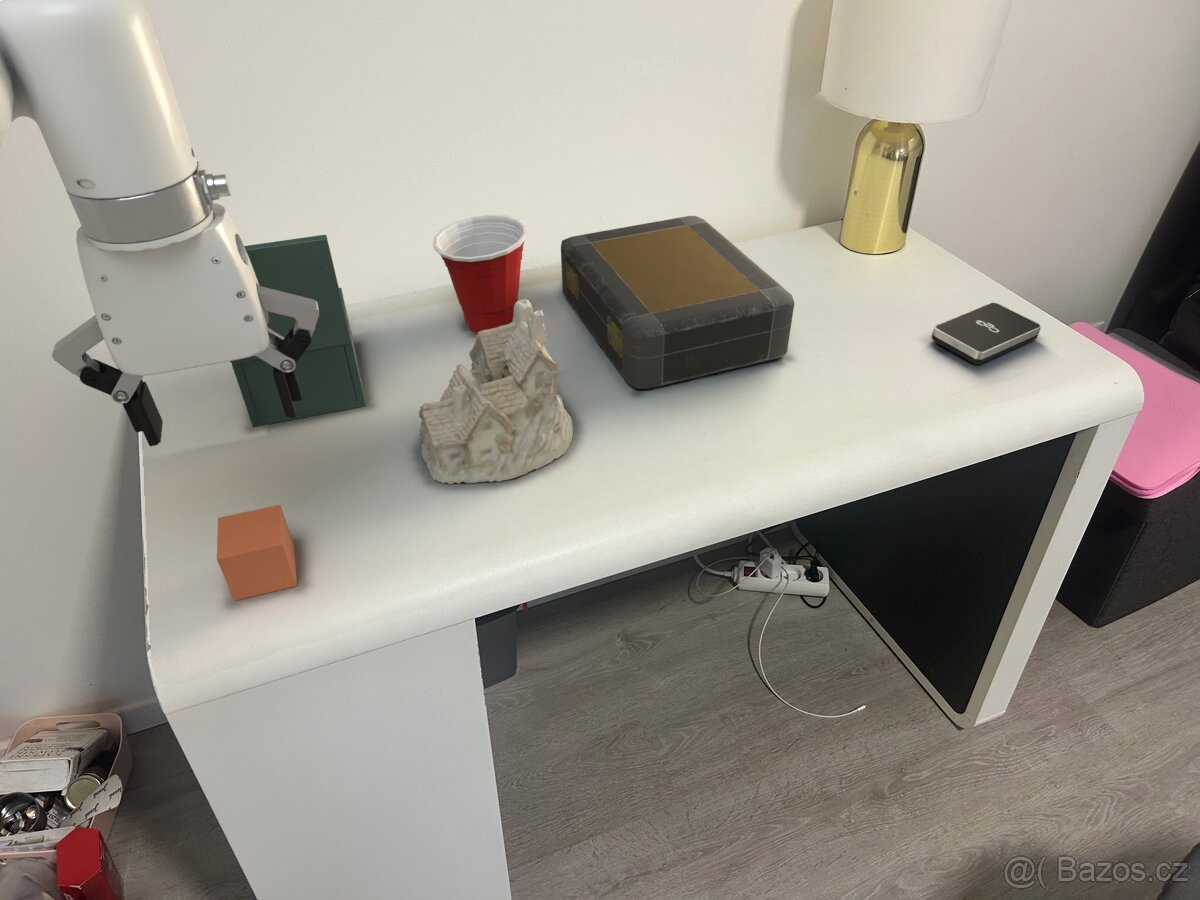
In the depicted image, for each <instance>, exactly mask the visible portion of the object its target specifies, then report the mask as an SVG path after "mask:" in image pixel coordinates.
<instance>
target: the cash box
mask: <svg viewBox="0 0 1200 900" xmlns="http://www.w3.org/2000/svg"><path fill="white" fill-rule="evenodd" d="M560 243H561V244H560V263H561V289H562V295H563V296H564V298H565V299H566V300H567V302H568V303H569V304H570V306H571V307H572V309H573V310H574V311H575V313H576V314H577V315H578V317H579V318H580V319H581V321H582V322H583V323H584V325H585V326H586V328H587V329H588V331H589V333H591V335H592V336H593V338H595V340H596V341H597V343H598V344H599V346H600V347H601V349H602V350H603V351H604V353H605V354H606V355H607V356H608V358H609V359H610V361H611V362H612V363H613V364H614V366H615V368H616V369H617V370H618V372H619V373H620V374H621V376H622V378H624V380H625V381H626V383H627V384H629V385H630V386H631V387H632V388H634V389H637V390H648V389H653V388H657V387H661V386H666V385H670V384H675V383H678V382H682V381H688V380H691V379H695V378H696V379H697V378H699V377H704V376H705V377H706V376H708V375H713V374H717V373H721V372H725V371H730V370H734V369H738V368H742V367H747V366H751V365H754V364H755V365H756V364H759V363H765V362H768V361H772V360H776V359H780V358H782V357H783V356H785V355H786V354H787V353H788V348H789V341H790V335H791V329H792V324H793V323H792V321H793V316H794V310H795V300H794V296H793V294H791V293H790V292H789V291H788V290H787V289H785V288H784V286H782V285H781V284H780V283H778V282H777V281H776V280H775V279H774V278H773V277H772V276H771V275H769V273H767V272H766V271H765V270H764V269H762V268H761V266H759V265H758V264H757V263H756V262H754V261H753V260H752V259H751V258H750V257H748V256H747V255H746V254H745V253H744V252H743V251H742V250H741V249H739V248H738V247H737V246H735V245H734V244H733V242H731V241H730V240H729V239H727V238H726V237H725V236H724V235H723V234H722V233H720V231H718V230H717V229H716V228H715V227H713V225H712V224H711V223H709V222H708V221H706V220H705V218H702V217H699V216H697V215H687V216H681V217H676V218H669V219H664V220H658V221H652V222H646V223H641V224H636V225H635V224H634V225H629V226H623V227H618V228H612V229H608V230H607V229H605V230H601V231H596V232H590V233H584V234H579V235H574V236H570V237H567V238H565V239H562V240H561V242H560Z"/></svg>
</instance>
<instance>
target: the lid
mask: <svg viewBox="0 0 1200 900" xmlns="http://www.w3.org/2000/svg"><path fill="white" fill-rule="evenodd" d="M244 247H245V249H246V252H247V254H248V257H249V259H250V262H251V264H252V267H253V270H254V272H255V275H256V278H257V280H258V283H259V286H262V287H266V288H270V289H274V290H278V291H282V292H286V293H290V294H294V295H298V296H302V297H306V298H310V299H314V300H315V301H317V303H318V307H319V317H318V320H317V323H316V326H315V329H314V332H313V334H312V338H311V343H310V345H309V346H308V348H307V349H306V350H311V349H316V348H322V347H328V346H334V345H340V344H345V343H351V337H350V333H349V328H348V324H347V320H346V316H345V311H344V307H343V303H342V299H341V294H340V290H339V288H340V287H339V282H338V279H337V278H338V277H337V273H336V268H335V266H334V261H333V257H332V253H331V249H330V244H329V240H328V235H327V234H319V235H312V236H304V237H297V238H291V239H283V240H276V241H270V242H261V243H256V244H248V245H244ZM268 315H269V323H268V324H267V327H268V328H270V329H271V330H273V331H275V332H276V333H278V334H279V335H281V336H283V337H284V338H285V337H286V335H287V334H288V333H289V331H290V330H291V329H292V327H293V326H294V325H295V322H296V319H295V318H293V317H289V316H285V315H280V314H276V313H272V312H268ZM253 359H258V357H257V356H255V355H254V356H251V357H247V358H243V359H238V360H233V361H229V363H230V364H232V363H235V362H241V361H247V360H253Z"/></svg>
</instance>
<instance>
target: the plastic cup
mask: <svg viewBox="0 0 1200 900" xmlns="http://www.w3.org/2000/svg"><path fill="white" fill-rule="evenodd" d="M527 235H528V233H527V225H526V224H525V223H524V222H523V221H521V220H520V219H519V218H517V217H516V218H515V217H512V216H509V215H504V214H482V215H476V216H470V217H466V218H463V219H460V220H456V221H454V222H452V223H450V224H449V225H447V226H444V227H443V228H441V229H440V230H439V231H438V233H436V234H435V236H433V242H432V247H433V249H434V250H435V251H436V253H438V255H440V257H441V260H442V261H443V263H444V266H445V267H446V269H447V271H448V274H449V277H450V281H451V283H452V286H453V289H454V292H455V295H456V298H457V301H458V304H459V305H460V307H461V310H462V314H463V317H464V320H465V323H466V324H467V327H468V329H469V330H470V331H471V332H472V333H474V334H478V333H477V332H480V331H483V330H488V329H493V328H497V327H500V326H503V325H507V324H510V323H511V322H513V315H514V305H515V303H516V302H517V301H519V291H520V281H521V280H520V278H521V269H522V268H521V267H522V260H523V251H524V244H525V240H526V239H527Z"/></svg>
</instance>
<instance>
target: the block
mask: <svg viewBox="0 0 1200 900" xmlns="http://www.w3.org/2000/svg"><path fill="white" fill-rule="evenodd" d="M216 539H217V540H216V562H217V563H218V565H219V568H220V570H221V572H222V575H223V577H224V579H225V582H226V584H227V586H228V589H229V591H230V593H231V596H232V598H233V600H234V601H235V602H236V601H239V600H244V599H248V598H249V599H250V598H253V597H257V596H262V595H265V594H270V593H275V592H278V591H282V590H286V589H291V588H295V587H297V586H298V580H297V579H298V578H297V566H296V551H295V549H296V548H295V544H294V542H293V538H292V535H291V532H290V529H289V526H288V523H287V519H286V518H285V514H284V511H283V509H282V506H281V504H277V505H272V506H268V507H267V506H266V507H263V508H258V509H253V510H249V511H248V510H247V511H244V512H239V513H234V514H229V515H225V516H219V517H218V518H217V537H216Z"/></svg>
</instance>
